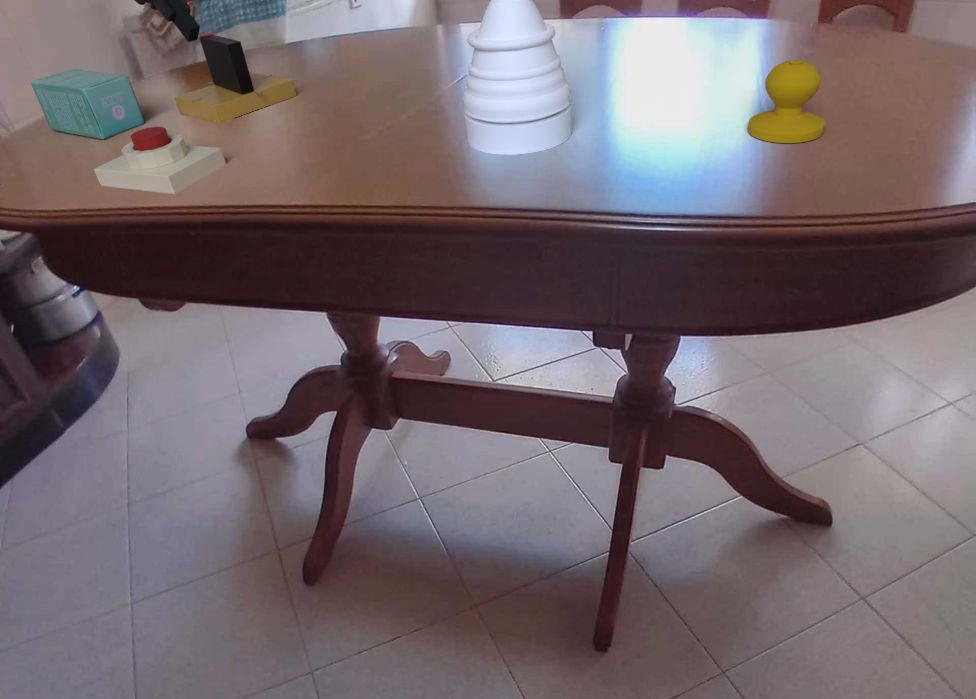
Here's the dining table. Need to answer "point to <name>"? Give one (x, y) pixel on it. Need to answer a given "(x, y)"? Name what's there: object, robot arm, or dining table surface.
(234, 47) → the lock knob
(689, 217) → the dining table surface
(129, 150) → the bell block
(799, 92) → the doorknob
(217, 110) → the lock plate
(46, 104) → the box
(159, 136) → the bell button
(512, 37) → the honey pot
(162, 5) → the robot arm
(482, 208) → the dining table surface
